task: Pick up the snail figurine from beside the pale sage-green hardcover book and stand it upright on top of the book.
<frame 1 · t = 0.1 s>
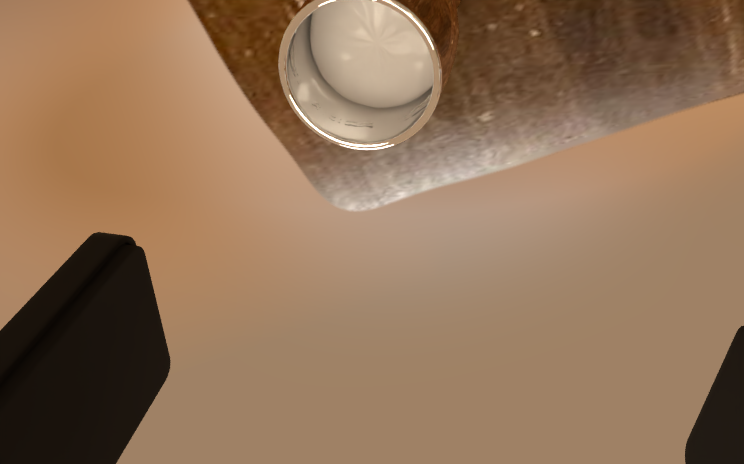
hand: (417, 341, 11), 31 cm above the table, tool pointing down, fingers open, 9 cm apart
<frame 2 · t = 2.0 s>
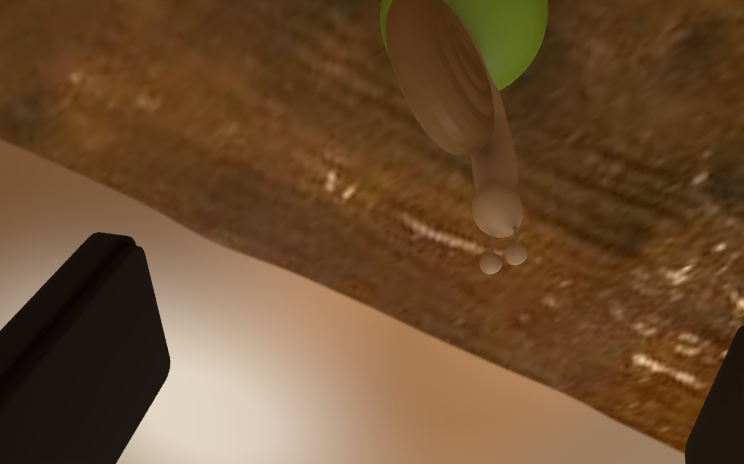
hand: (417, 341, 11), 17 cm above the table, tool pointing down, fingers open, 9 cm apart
snail figurine: (475, 3, 24), on the table
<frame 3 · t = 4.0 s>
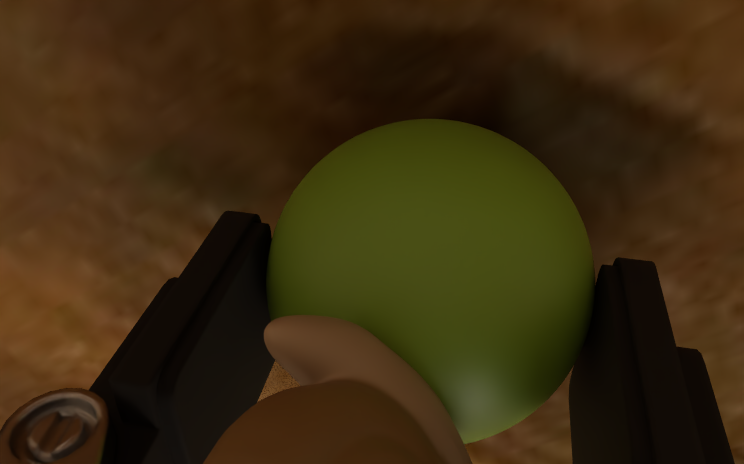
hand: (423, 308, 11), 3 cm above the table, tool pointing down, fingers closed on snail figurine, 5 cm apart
snail figurine: (456, 209, 14), on the table, touching gripper
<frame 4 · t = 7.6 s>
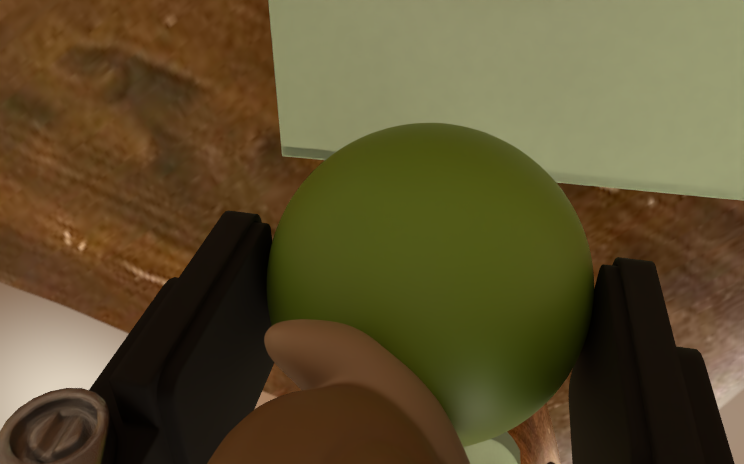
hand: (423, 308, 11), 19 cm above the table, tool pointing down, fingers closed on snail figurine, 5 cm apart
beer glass: (493, 326, 37), on the table
snail figurine: (456, 212, 14), point 16 cm above the table, touching gripper
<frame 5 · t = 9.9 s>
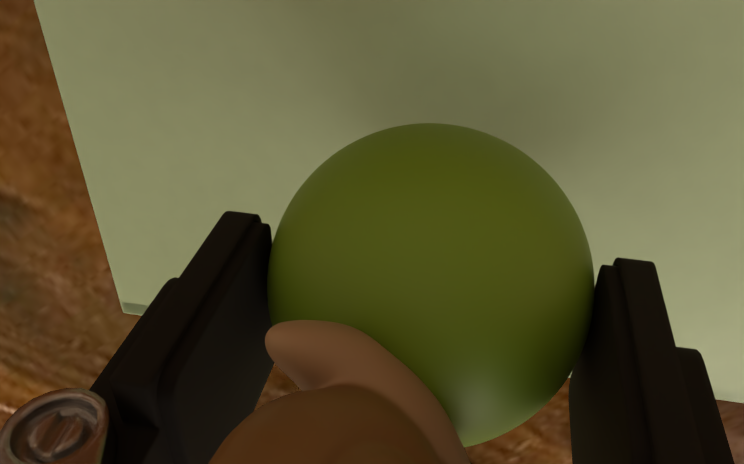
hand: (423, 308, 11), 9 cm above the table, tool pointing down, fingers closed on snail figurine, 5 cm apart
snail figurine: (456, 212, 14), point 6 cm above the table, touching gripper
book: (462, 95, 18), on the table
when the fingers open (6 cm above the table, at t = 11.2 s): snail figurine stays where it is, resting on book.
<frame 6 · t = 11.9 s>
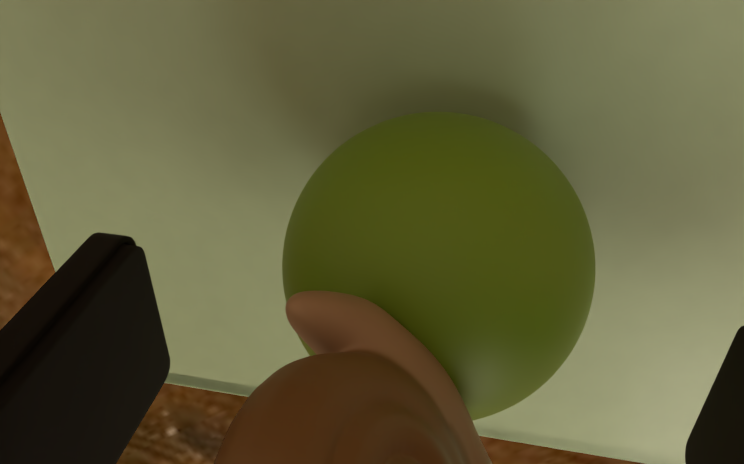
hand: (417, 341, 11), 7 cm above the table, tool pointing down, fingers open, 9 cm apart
snail figurine: (462, 201, 14), point 3 cm above the table, touching book
book: (461, 140, 16), on the table
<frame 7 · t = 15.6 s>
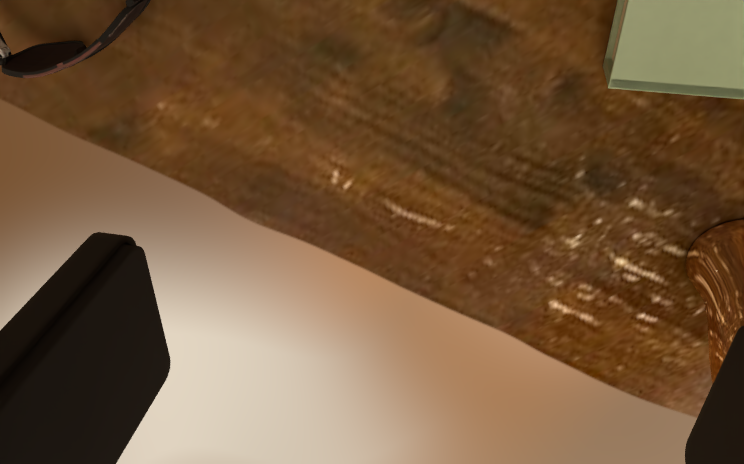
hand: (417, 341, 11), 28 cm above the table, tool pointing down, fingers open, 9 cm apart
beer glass: (737, 257, 41), on the table
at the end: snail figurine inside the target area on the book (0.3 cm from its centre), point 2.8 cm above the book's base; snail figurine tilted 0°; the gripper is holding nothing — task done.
